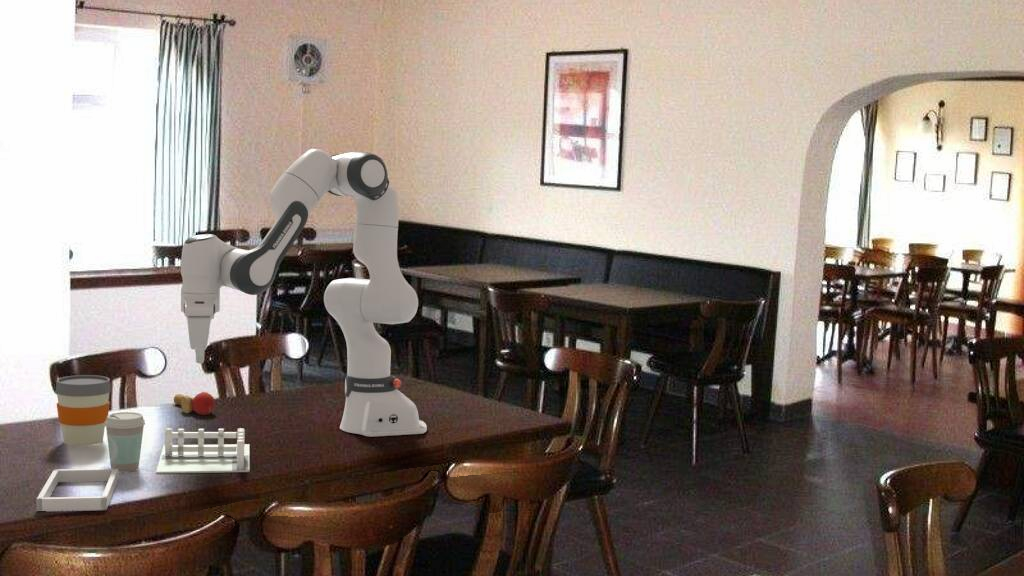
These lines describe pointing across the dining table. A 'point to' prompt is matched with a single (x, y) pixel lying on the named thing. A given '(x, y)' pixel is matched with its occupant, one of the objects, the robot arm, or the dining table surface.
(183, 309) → the robot arm
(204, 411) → the kendama
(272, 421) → the dining table surface
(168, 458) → the card
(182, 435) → the white toy fence
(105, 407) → the reusable coffee cup
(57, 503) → the rim
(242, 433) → the fence fixed
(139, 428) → the coffee cup
